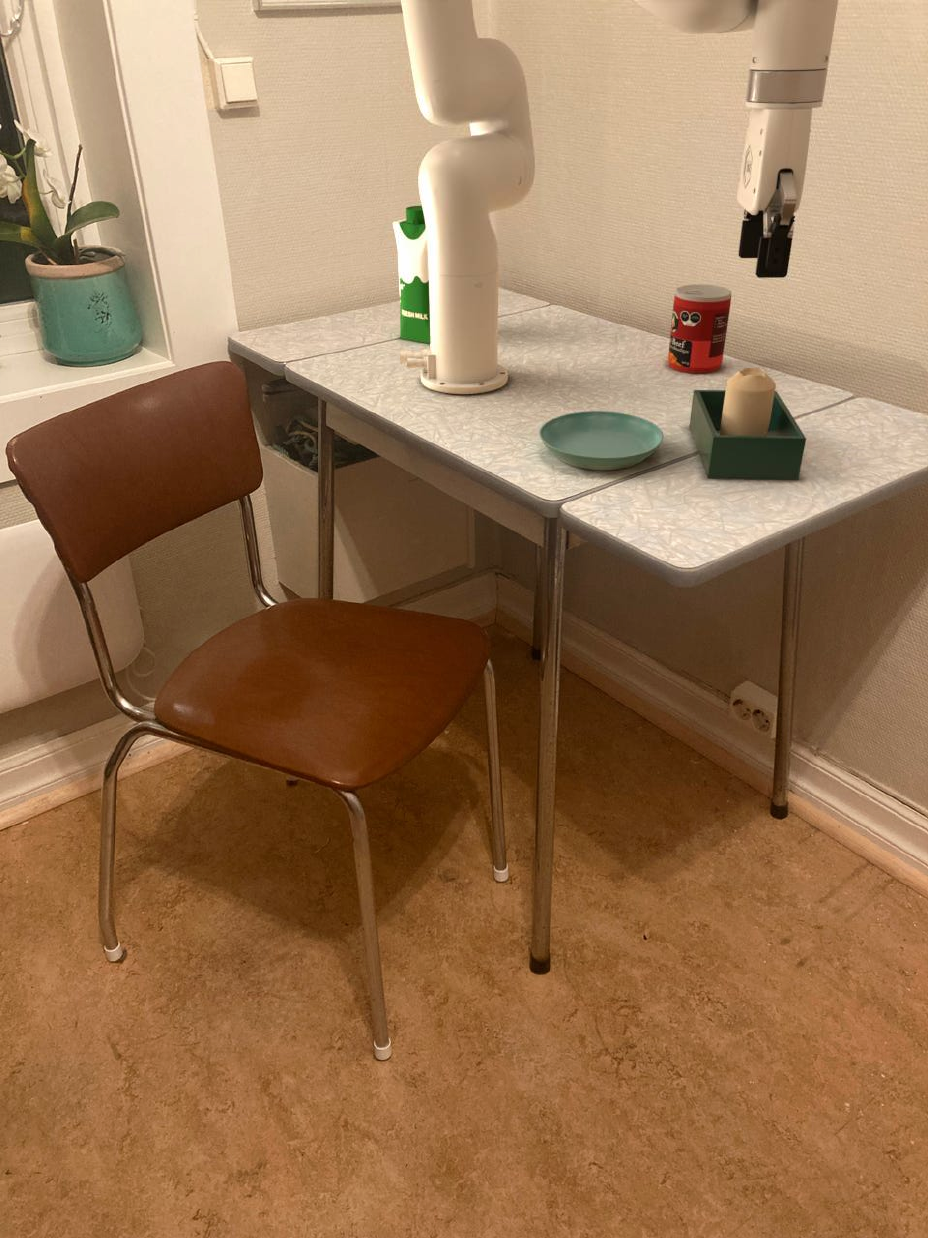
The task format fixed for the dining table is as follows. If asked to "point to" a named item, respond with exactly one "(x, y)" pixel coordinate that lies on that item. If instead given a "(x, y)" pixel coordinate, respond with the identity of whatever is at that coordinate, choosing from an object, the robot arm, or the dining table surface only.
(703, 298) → the canned food
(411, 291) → the milk carton
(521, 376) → the dining table surface
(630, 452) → the saucer
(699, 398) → the case
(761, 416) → the candle
